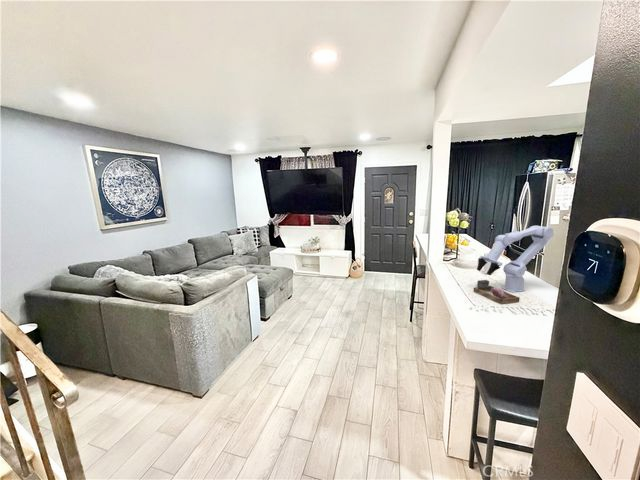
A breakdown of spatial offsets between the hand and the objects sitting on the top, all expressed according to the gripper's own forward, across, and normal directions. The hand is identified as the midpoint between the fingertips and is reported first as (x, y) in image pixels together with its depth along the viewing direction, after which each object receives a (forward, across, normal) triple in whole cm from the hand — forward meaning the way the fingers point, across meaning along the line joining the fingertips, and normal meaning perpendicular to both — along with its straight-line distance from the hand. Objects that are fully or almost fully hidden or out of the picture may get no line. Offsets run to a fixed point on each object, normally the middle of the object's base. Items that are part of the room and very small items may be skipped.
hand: (483, 272), depth 156 cm
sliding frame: (+10, +8, +8) cm, 15 cm away
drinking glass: (-4, -28, +35) cm, 45 cm away
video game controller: (+10, +11, +8) cm, 17 cm away
